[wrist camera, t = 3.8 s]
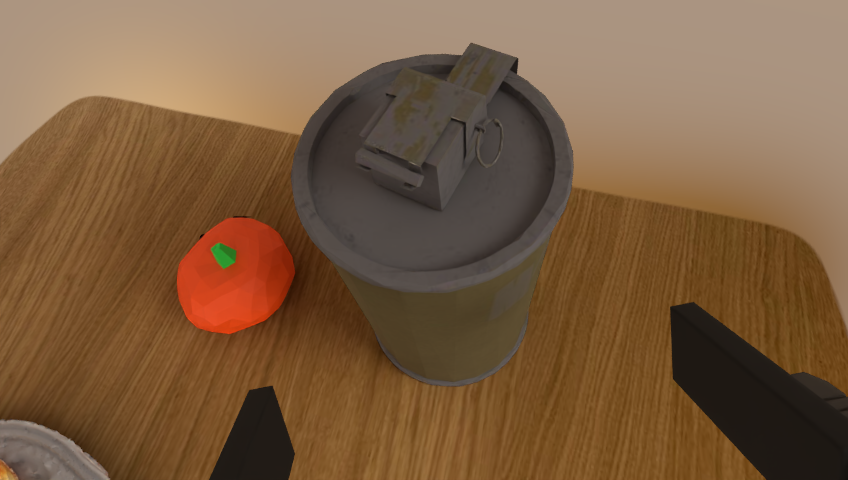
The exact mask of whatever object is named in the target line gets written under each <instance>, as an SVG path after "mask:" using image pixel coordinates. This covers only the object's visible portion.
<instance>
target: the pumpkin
mask: <svg viewBox="0 0 848 480" xmlns="http://www.w3.org/2000/svg"><path fill="white" fill-rule="evenodd" d="M294 275H295V268H294V263H293V258H292V256H291V254H290V252H289V250H288V248H287V246H286V245H285V243H284V241H283V239H282V238H281V236H280V234H279V233H278V232H277V231H275V230H274V229H273V228H271V227H270V226H268V225H266V224H264V223H261V222H259V221H257V220H254V219H250V218H247V217H246V216H234V217H233V218H227V219H225V220H224V221H222V222H221V223H219V224H217V225H216V226H215V227H213V228H212V229H211V230H209V231H208V232H207V233H205V234H203V235H201V236H200V239H199V241H198V242H197V243H196V244H195V245H194V246H193V247H192V249H191V250H190V251H189V252H188V253H187V255H186V256H185V257H184V258H183V259H182V261H181V262H180V263H179V268H178V274H177V290H178V296H179V301H180V303H181V306H182V308H183V310H184V313H185V315H186V317H187V319H188V320H189V321H190V322H191V323H193V324H194V325H195V326H196V327H197V328H200V329H203V330H207V331H210V332H217V333H226V334H231V333H234V332H237V331H239V330H242V329H245V328H248V327H250V326H253V325H255V324H258V323H260V322H263V321H265V320H266V319H267V318H269V317H270V316H271V315H272V314H273V313H274V312H275V311H276V310H277V309H278V308H279V307H280V306H281V304H282V302H283V301H284V299H285V297H286V294H287V292H288V290H289V288H290V286H291V283H292V280H293V278H294Z"/></svg>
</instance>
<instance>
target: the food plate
mask: <svg viewBox="0 0 848 480" xmlns="http://www.w3.org/2000/svg"><path fill="white" fill-rule="evenodd" d="M70 439H71V438H70ZM70 439H68V438H66V437H65V436H63V435H60V433H58V432H57V431H56V430H55V431H54V430H50V428H49V427H48V428H46V427H45V426H44V427H43V425H41V424H40V425H37V424H36V423H34V422H31V423H30V421H29V422H27V421H26V422H25V421H22V420H21V421H20V420H19V421H18V420H12V419H10V420H8V421H7V420H4V419H1V420H0V480H110V477H109V476H108V472H107V471H105V469H104V468H103V467H102V465H101V464H100V463H98V462H96V460H93V459H94V458H93V457H92V456H90V455H89V454H87V453H86V452H85V453H83V452H82V449H80V448H81V447H79V445H76V444H74V443H75V442H73V441H70Z"/></svg>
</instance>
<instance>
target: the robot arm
mask: <svg viewBox="0 0 848 480" xmlns="http://www.w3.org/2000/svg"><path fill="white" fill-rule="evenodd" d="M670 312H671V339H672V367H673V379H674V380H675V382H676V383H677V384H678V385H679V386H680V387H681V388H682V389H683V390H684V391H685V392H686V393H687V394H688V396H689V397H690V398H691V399H692V400H693V401H694V402H695V403H696V404H697V405H698V406H699V407H700V408H701V410H702V411H703V412H704V413H705V414H706V415H707V416H708V417H709V418H710V419H711V420H712V421H713V422H714V424H715V425H716V426H717V427H718V428H719V429H720V430H721V431H722V432H723V433H724V434H725V435H726V436H727V438H728V439H729V440H730V441H731V442H732V443H733V444H734V445H735V446H736V447H737V448H738V449H739V450H740V452H741V453H742V454H743V455H744V456H745V457H746V458H747V459H748V460H749V461H750V462H751V463H752V464H753V466H754V467H755V468H756V469H757V470H758V471H759V472H760V473H761V474H762V475H763V476H764V477H765V478H766V479H767V480H848V397H846V395H845V394H844V393H843V392H841V391H840V390H839V389H837V388H836V387H834V386H833V385H831V384H830V383H829V382H827V381H825V380H822V379H820V378H817V377H815V376H813V375H810V374H808V373H805V372H801V373H796V374H791V375H790V374H789V373H787V372H786V371H785V370H783V369H782V368H781V367H779V366H778V365H777V364H775V363H774V362H773V361H771V360H770V359H769V358H767V357H766V356H765V355H763V354H762V353H761V352H759V351H758V350H757V349H755V348H754V347H753V346H751V345H750V344H749V343H747V342H746V341H745V340H743V339H742V338H741V337H739V336H738V335H737V334H735V333H734V332H733V331H731V330H730V329H729V328H727V327H726V326H725V325H723V324H722V323H721V322H719V321H718V320H717V319H715V318H714V317H713V316H711V315H710V314H709V313H707V312H706V311H705V310H703V309H702V308H701V307H699V306H698V305H697V304H695V303H694V302H692V303H687V304H682V305H677V306H672V307H670ZM294 455H295V453H294V450H293V447H292V444H291V440H290V437H289V434H288V431H287V428H286V425H285V422H284V419H283V416H282V413H281V410H280V407H279V404H278V401H277V398H276V395H275V392H274V389H273V386H268V387H263V388H258V389H253V390H249V392H248V394H247V396H246V398H245V401H244V403H243V405H242V407H241V410H240V412H239V414H238V416H237V419H236V421H235V423H234V425H233V428H232V430H231V432H230V434H229V436H228V439H227V441H226V443H225V445H224V448H223V450H222V452H221V454H220V457H219V459H218V461H217V463H216V465H215V468H214V470H213V472H212V474H211V477H210V479H209V480H288V479H289V475H290V471H291V467H292V463H293V459H294Z"/></svg>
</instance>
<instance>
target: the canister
mask: <svg viewBox="0 0 848 480" xmlns="http://www.w3.org/2000/svg"><path fill="white" fill-rule="evenodd" d="M517 68H518V58H516V57H513V56H510V55H507V54H504V53H501V52H497V51H495V50H492V49H489V48H486V47H482V46H480V45H477V44H473V43H470V45H469V46H468V47H467V49H466V50H465V52H464V53H463V55H449V54H434V55H419V56H415V57H410V58H406V59H400V60H396V61H391V62H386V63H382V64H380V65H378V66H376V67H373V68H371V69H369V70H367V71H366V72H363V73H362V74H360V75H358V76H357V77H355V78H354V79H352V80H350V81H349V82H347V83H346V84H344V85H343V86H341V87H339V88H338V89H336V90H335V91H334V92H333V93H332V94H331V95H330V97H329V98H328V99H327V100H326V101H325V102H324V103H323V104H322V105H321V106H320V108H319V109H318V110H317V111H316V112H315V113H314V114H313V115H312V117H311V118H310V120H309V122H308V123H307V125H306V127H305V128H304V131H303V133H302V135H301V138H300V140H299V143H298V145H297V148H296V150H295V153H294V159H293V166H292V172H291V182H292V189H293V196H294V202H295V207H296V210H297V213H298V216H299V218H300V221H301V224H302V225H303V227H304V228H305V230H306V232H307V233H308V235H309V237H310V238H311V240H312V241H313V242H314V244H315V245H316V246H317V247H318V248H319V249H320V250H321V251H322V252H323V253H324V254H325V255H326V257H327V258H328V259H329V260H330V261H332V263H333V265H334V266H335V268H336V270H337V271H338V273H339V274H340V276H341V278H342V279H343V281H344V283H345V284H346V286H347V287H348V289H349V291H350V292H351V294H352V295H353V297H354V299H355V300H356V302H357V304H358V305H359V307H360V308H361V310H362V312H363V313H364V315H365V316H366V318H367V320H368V321H369V323H370V325H371V326H372V328H373V329H374V332H375V335H376V338H377V340H378V342H379V344H380V346H381V348H382V350H383V351H384V353H385V354H386V356H387V357H388V358H389V359H390V360H391V362H392V363H393V364H394V365H395V366H396V367H398V368H399V369H400V370H401V371H403V372H404V373H406V374H408V375H409V376H411V377H413V378H415V379H417V380H420V381H422V382H425V383H428V384H431V385H439V386H463V385H467V384H471V383H475V382H478V381H480V380H482V379H484V378H486V377H488V376H490V375H492V374H494V373H496V372H497V371H498V370H499V369H500V368H502V367H503V366H504V365H505V364H506V363H507V362H508V361H509V360H510V359H511V357H512V356H513V355H514V354H515V353H516V351H517V349H518V347H519V345H520V343H521V342H522V339H523V337H524V335H525V332H526V327H527V322H528V309H529V306H530V302H531V299H532V296H533V292H534V289H535V286H536V282H537V279H538V276H539V272H540V269H541V266H542V263H543V259H544V256H545V253H546V249H547V246H548V243H549V239H550V236H551V233H552V230H553V229H554V227H555V225H556V224H557V222H558V220H559V219H560V217H561V215H562V214H563V212H564V210H565V207H566V204H567V201H568V198H569V195H570V192H571V187H572V177H573V150H572V147H571V144H570V141H569V138H568V134H567V132H566V128H565V125H564V122H563V121H562V119H561V118H560V116H559V115H558V113H557V112H556V111H555V109H554V108H553V106H552V105H551V103H550V102H549V101H548V99H547V98H546V96H545V95H543V94H542V93H541V92H540V91H539V90H538V89H536V88H535V87H534V86H533V85H531V84H530V83H529V82H528V81H527V80H525V79H524V78H522V77H520V76H519V75H517Z"/></svg>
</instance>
